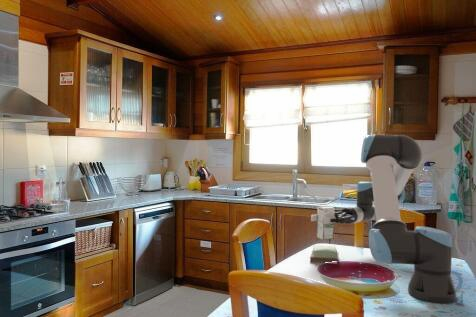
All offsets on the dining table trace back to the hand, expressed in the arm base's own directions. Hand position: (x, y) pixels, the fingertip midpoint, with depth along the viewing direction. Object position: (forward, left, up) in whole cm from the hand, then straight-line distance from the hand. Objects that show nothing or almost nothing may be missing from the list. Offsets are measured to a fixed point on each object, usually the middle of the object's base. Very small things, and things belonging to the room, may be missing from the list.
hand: (318, 219), depth 180 cm
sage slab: (+3, -3, -16) cm, 17 cm away
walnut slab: (+3, -3, -19) cm, 20 cm away
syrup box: (+4, -3, -9) cm, 10 cm away
